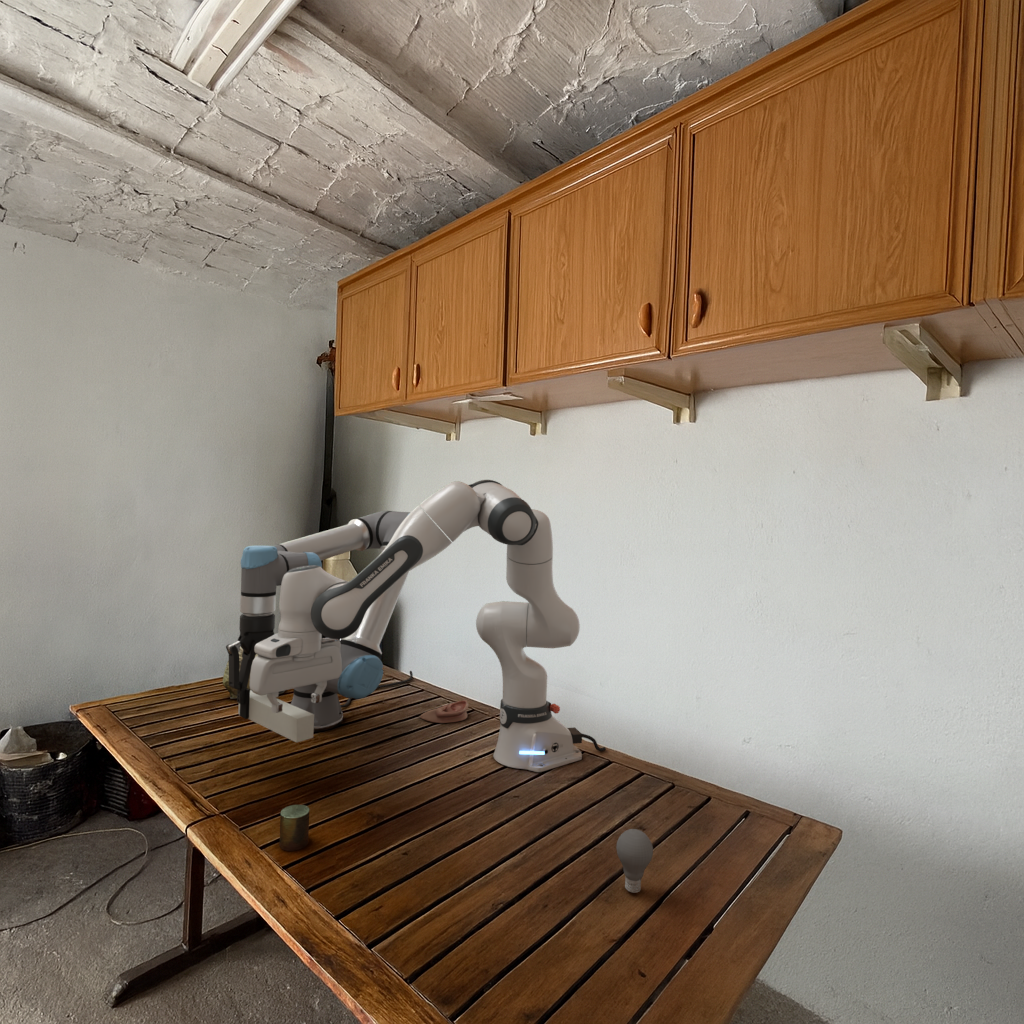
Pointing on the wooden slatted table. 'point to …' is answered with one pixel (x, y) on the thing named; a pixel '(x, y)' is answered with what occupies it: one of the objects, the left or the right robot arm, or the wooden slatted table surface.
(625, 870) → the light bulb
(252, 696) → the bar
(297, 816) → the sage tin
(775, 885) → the wooden slatted table surface
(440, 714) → the anatomical model
